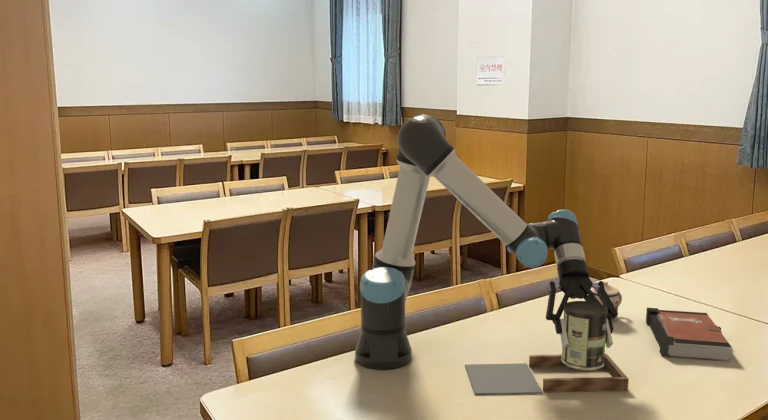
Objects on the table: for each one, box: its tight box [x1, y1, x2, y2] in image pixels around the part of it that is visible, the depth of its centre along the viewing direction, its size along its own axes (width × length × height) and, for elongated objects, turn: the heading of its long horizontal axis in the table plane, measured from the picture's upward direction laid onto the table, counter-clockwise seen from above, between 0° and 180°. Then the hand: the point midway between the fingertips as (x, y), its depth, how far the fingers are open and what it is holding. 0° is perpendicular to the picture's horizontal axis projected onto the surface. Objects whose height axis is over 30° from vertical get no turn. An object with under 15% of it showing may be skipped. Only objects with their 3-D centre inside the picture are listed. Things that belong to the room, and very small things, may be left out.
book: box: [645, 307, 733, 363], centre depth 183 cm, size 26×18×5 cm
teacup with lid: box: [590, 280, 623, 323], centre depth 201 cm, size 12×9×12 cm
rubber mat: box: [464, 362, 544, 396], centre depth 160 cm, size 16×16×1 cm
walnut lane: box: [528, 353, 629, 393], centre depth 160 cm, size 20×15×3 cm
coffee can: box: [561, 300, 608, 371], centre depth 159 cm, size 10×10×14 cm
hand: (587, 345), depth 156 cm, fingers closed on coffee can, 10 cm apart
